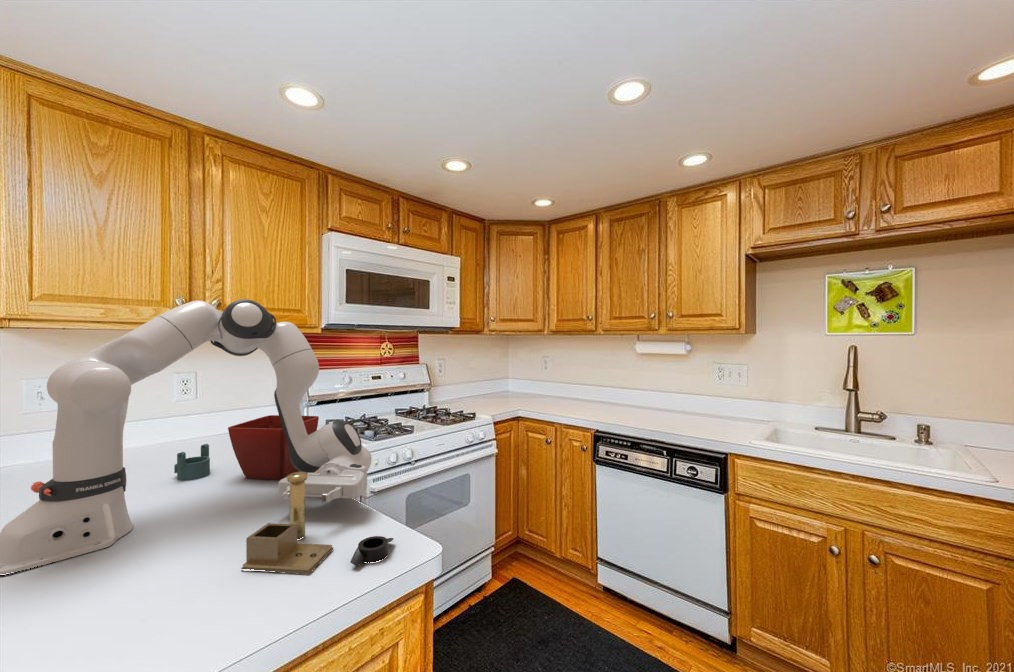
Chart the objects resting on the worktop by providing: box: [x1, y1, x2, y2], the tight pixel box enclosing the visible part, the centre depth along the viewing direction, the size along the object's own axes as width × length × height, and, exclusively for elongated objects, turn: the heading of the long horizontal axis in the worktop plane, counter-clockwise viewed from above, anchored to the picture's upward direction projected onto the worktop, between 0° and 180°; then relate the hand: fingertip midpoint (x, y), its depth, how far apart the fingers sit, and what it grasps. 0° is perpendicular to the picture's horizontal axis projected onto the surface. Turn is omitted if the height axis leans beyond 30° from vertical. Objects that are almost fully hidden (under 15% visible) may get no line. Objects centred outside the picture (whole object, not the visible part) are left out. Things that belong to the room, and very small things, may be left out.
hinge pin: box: [287, 471, 307, 539], centre depth 93 cm, size 4×4×14 cm
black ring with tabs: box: [349, 535, 395, 567], centre depth 86 cm, size 8×10×3 cm
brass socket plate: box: [240, 522, 334, 575], centre depth 84 cm, size 9×14×6 cm, turn 85°
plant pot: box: [227, 414, 320, 481], centre depth 136 cm, size 19×19×17 cm
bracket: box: [174, 443, 211, 482], centre depth 133 cm, size 9×9×9 cm
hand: (305, 497), depth 96 cm, fingers open, 8 cm apart
